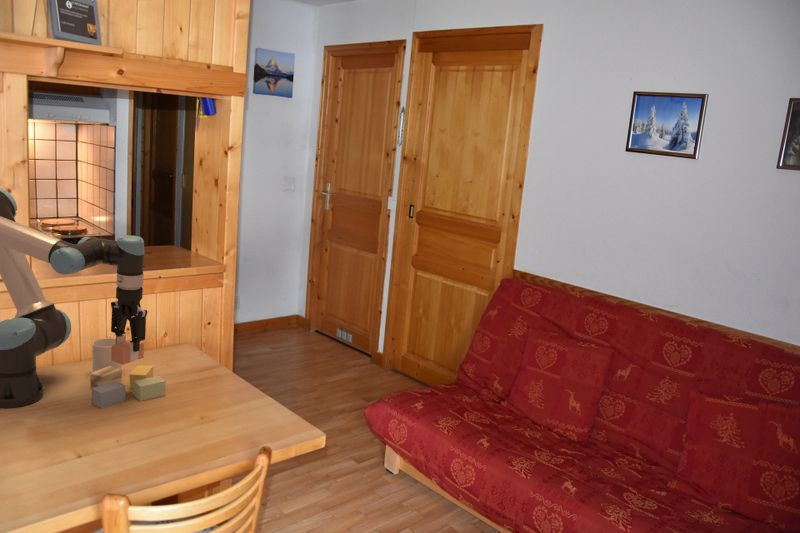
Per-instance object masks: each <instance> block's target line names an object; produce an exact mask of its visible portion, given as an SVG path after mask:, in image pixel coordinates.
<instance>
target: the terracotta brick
mask: <svg viewBox="0 0 800 533" xmlns="http://www.w3.org/2000/svg"><path fill="white" fill-rule="evenodd" d="M130 341H132V338H131V339H128V340H126V341H125V342H121V343H118V344H115V345H112V350H111V361H114V362H116V363H119V364H122V366H123V365H126V364H130V363H132V362H134V361H132V362H130V361H129V358H130ZM139 347H140V349H139V351H138V360H141V359H144V353H145V352H144V351H145V348H144V347H145V343H144V342H143V341H140V346H139Z"/></svg>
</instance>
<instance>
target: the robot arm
mask: <svg viewBox="0 0 800 533" xmlns="http://www.w3.org/2000/svg"><path fill="white" fill-rule="evenodd" d="M17 211H18V205H17V202H16V200H15V197H13V195H12V194H11V193H10V192H8V191H7V190H6V189H3V188H1V187H0V277H1V280H2V282H3V284H4V286H5V288H6V290H7V292H8V294H9V297H10V298H11V300H12V303H13V305H14V307H15V310H16V313H15V315H14V317H12V318H11V319H9V318H7V319H3V320H1V321H0V408H2V409H3V408H4V409H5V408H10V409H11V408H19V407H24V406H28V405H32V404H34V403H36V402H38V401H39V400H41V399H42V398H43V397H44V394H45V393H44V392H45V389H44V385H43V383H42V381H41V379H40V376H39V374H38V371H37V357H39V356H41V355H42V354H45V353H46V352H49V351H51V350H53V349H56V348H58V347H60V346H61V345H62V344H64V343H65V342H66V341H67V340H68V339H69V338H70V334H71V332H72V323H71V322H72V321H71V320H70V317H69V316H68V314H66V312H65V311H62V310H61V309H58V308H56V306H55V304H54V302H52V301H49V300H47V299H46V297H45V295H44V293H43V291H42V288H41V287H40V286H41V285H40V284H39V282H38V280H37V278H36V275H35V273H34V271H33V269H32V267H31V264H30V263H29V260H28V258H27V256H29V257H32V258H34V259H36V260H39V261H42V262H45V263H48V264H49V265H50V266H51V267H52V270H54V271H55V272H56V273H57V274H60V275H65V276H66V275H70V274H72V275H73V274H76V273H79V272H81V271H84V270H86V269H88V268H93V267H95V266H98V265H108V266H113V267H114V266H115V267H116V286H117V287H116V288H115V298H116V301H111V302H110V307H111V321H110V322H111V323H110V324H111V326H110V332H111V333H114V336H115V339H116V344H118V343H121V342H125V341H127V335H126V333H127V332H126V326H127V322H129V328H130V333H131V334H130V335H131V336H130V337H131V339H132V341H130V358H129V361H130V363H132V361H133V362H135V361H138V360H139V359H138V351H139V349H140V347H139V346H140V342H143V341H146V331H147V327H146V326H147V316H148V310H147V309H143V308H142V306H141V300H143V297H144V296H143V290H144V288H143V286H144V262H145V261H144V260H145V253H146V252H145V241H144V239H143V238H142V237H141V236H137V235H129V234H128V235H127V234H126V235H120V236H118V237H117V240H114V239H105V238H100V237H95V236H84V237H82V238H81V239H80V240H79V241H78V242H77V243H76V244H75V243H74V244H73V243H71V242H68V241H66V240H63V239H61V238H58V237H55V236H53V235H50V234H47V233H45V232H42V231H39V230H37V229H34V228H32V227H29V226H27V225H24V224H22V223H19V222H17V221H16V219H15V217H16V216H17Z"/></svg>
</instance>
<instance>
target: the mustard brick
mask: <svg viewBox="0 0 800 533" xmlns="http://www.w3.org/2000/svg"><path fill="white" fill-rule="evenodd" d="M151 377H154V365H141V364H137V365H136V366H135V368H134V369H133V370H132V371H131V372H130V373H129V389H133V390H134V381H137V380H141V379H146V378H151Z"/></svg>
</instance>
